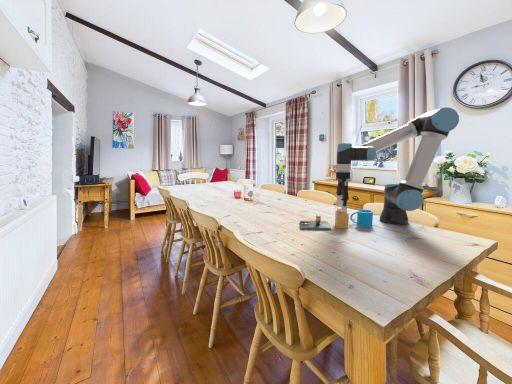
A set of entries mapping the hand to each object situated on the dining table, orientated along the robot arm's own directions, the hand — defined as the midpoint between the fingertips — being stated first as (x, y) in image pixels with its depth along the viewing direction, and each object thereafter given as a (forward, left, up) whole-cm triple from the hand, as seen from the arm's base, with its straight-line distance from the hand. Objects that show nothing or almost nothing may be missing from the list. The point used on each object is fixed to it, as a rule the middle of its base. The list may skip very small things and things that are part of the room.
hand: (341, 209), depth 138 cm
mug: (-12, -5, -11) cm, 17 cm away
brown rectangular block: (0, 0, -10) cm, 10 cm away
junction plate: (+15, 0, -10) cm, 18 cm away
